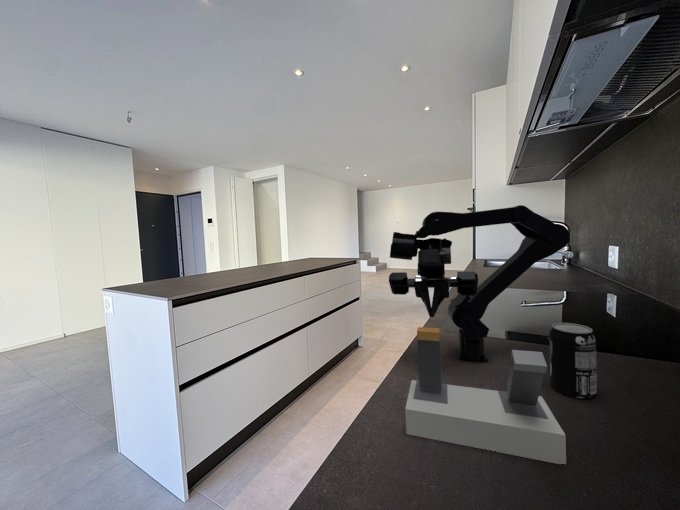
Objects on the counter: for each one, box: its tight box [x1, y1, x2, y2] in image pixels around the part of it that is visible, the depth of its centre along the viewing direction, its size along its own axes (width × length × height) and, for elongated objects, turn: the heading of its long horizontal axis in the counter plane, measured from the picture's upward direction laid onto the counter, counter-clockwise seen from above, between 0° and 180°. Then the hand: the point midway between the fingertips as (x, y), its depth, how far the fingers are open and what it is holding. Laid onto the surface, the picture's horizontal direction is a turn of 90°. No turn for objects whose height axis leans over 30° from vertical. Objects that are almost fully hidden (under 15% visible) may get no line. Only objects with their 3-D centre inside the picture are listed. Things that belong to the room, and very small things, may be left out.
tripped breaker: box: [416, 326, 443, 390], centre depth 46 cm, size 2×4×10 cm, turn 69°
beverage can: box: [548, 322, 598, 399], centre depth 51 cm, size 7×7×12 cm
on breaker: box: [506, 349, 548, 406], centre depth 39 cm, size 2×4×10 cm, turn 70°
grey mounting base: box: [404, 379, 567, 465], centre depth 42 cm, size 9×20×4 cm, turn 69°
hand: (431, 316), depth 57 cm, fingers closed
